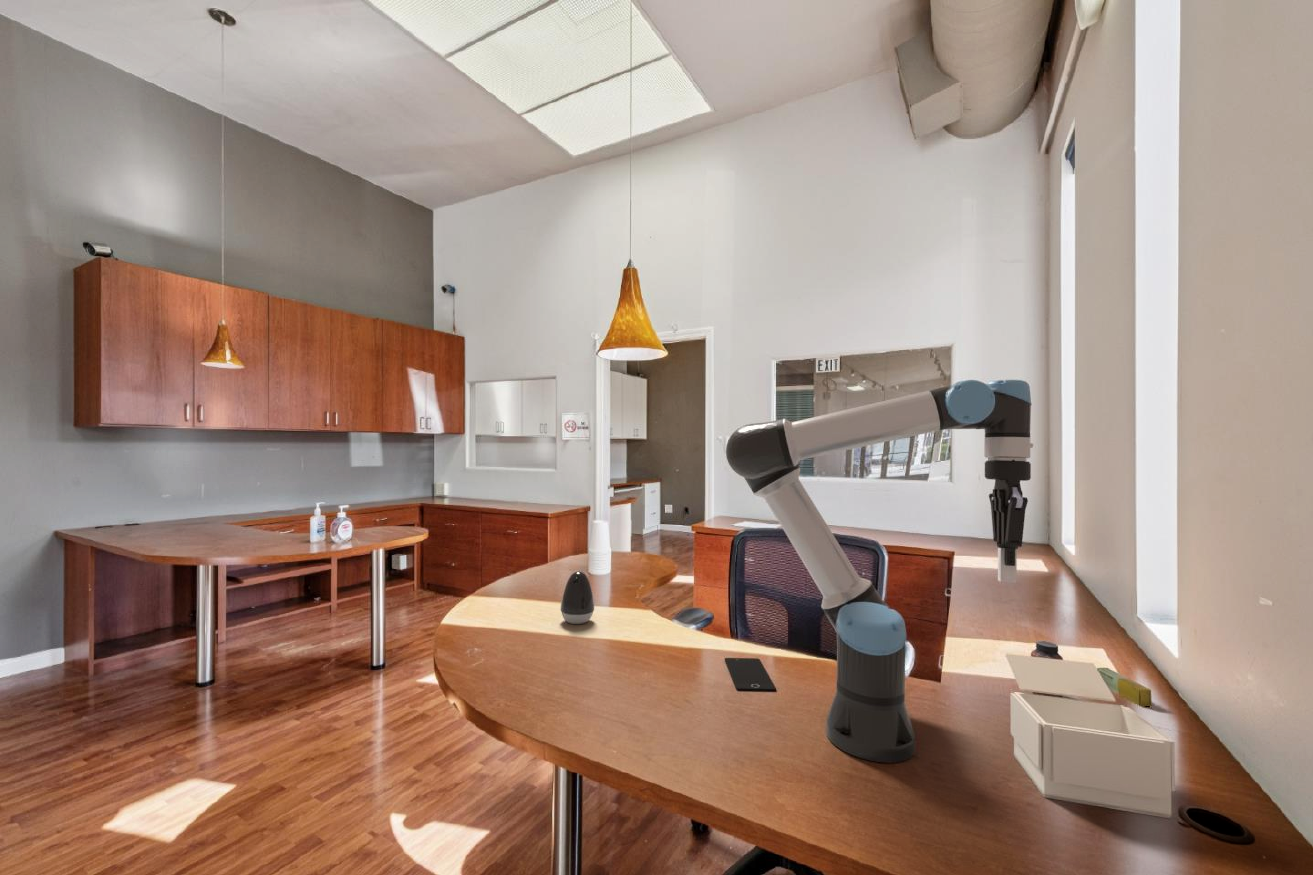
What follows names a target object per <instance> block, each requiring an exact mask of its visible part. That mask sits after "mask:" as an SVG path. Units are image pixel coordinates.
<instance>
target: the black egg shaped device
mask: <svg viewBox="0 0 1313 875" xmlns="http://www.w3.org/2000/svg"><path fill="white" fill-rule="evenodd" d="M560 612H561V616H562V618H563V619H564V621H565V622H567V623H569V624H571V625H582V624H583V625H584V624H585V623H587V622H588V621H590V619H591V618H592V617H593V614H594V612H595V600H594V594H593V590H592V585H591V582H590V579H589V578H588V576H587V574H586V573H585V572H583V571H579V570H577V571H575V572H573V573H572V574H570V576H569V578H568V580H567V582H566V584H565V587H564V590H563V594H562V597H561V603H560Z"/></svg>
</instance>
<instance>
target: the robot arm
mask: <svg viewBox="0 0 1313 875" xmlns="http://www.w3.org/2000/svg"><path fill="white" fill-rule="evenodd" d="M1030 387H1031V386H1030V384H1029V383H1028V382H1027V381H1026V380H1022V379H1000V380H992V381H988V382H986V383H984V382H982V381H980V380H976V379H968V380H967V379H966V380H960V381H958V382H955V383H954V384H952V385H948V386H944V387H939V388H935V389H931V390H926V391H921V392H917V393H913V394H909V395H903V396H900V397H895V398H892V399H891V398H890V399H887V400H883V401H879V402H874V403H871V404H865V405H861V406H856V407H851V408H848V409H843V410H839V411H835V412H830V413H826V414H821V415H817V416H814V417H810V418H809V417H808V418H805V419H804V418H803V419H800V420H795V421H790V420H788V419H786V418H781V419H777V420H771V421H767V422H757V423H750V424H748V423H747V424H745V425H742V426H740V427H739V428H737V429H736V430H735V431H733V432H732V434H731V435H730V436H729V439H728V440H727V443H726V448H725V454H726V456H725V457H726V461H727V463H728V465H729V466H730V468H731V469H732V470H733V471H734V472H735V474H737V475H739V476H740V477H742V478H744V480H745V482H746V483H747V485H748V487H749V488H750V489H751V491H752V493H753V495H754V496H756V497H761V498H762V499H764V500H765V501H766V503H767V505H768V507H769V508H770V509H771V512H772V513H773V516H775V518H776V519H777V521H778V522H777V523H779V524H780V526H781V528H782V530H783V532H784V533H785V535H786V536H787V538H788V540H789V542H790V543H791V546H792V547H793V548H794V549H795V551H796V553H797V555H798V556H799V558H800V560H801V562H802V563H803V565H804V567H805V568H806V570H807V572H808V573H809V575H810V576H811V578H812V580H813V581H814V583H815V585H816V587H817V589H818V590H819V591H820V594H821V595H822V600H821V605H820V607H821V609H822V610H823V612H824V614H825V616H826V617H827V619H828V620H829V623H830V624H831V625H832V627H833V629H834V630H835V633H836V690H835V694H834V697H833V699H832V702H831V704H830V708H829V711H828V714H827V716H826V720H825V726H826V727H825V734H826V737H827V739H828V740H829V741H830V742H831V743H832V744H833V745H834V746H835V747H836V748H838V749H840V750H841V751H843V752H845V753H846V754H849V755H851V756H854V757H856V758H860V759H862V760H867V761H871V762H877V763H887V764H888V763H890V764H891V763H900V762H901V763H902V762H905V761H908V760H910V759H911V758H912V757H914V755H915V754H916V734H915V732H914V728H913V724H912V722H911V719H910V716H909V713H908V709H907V707H906V700H905V698H906V695H905V694H906V643H907V642H906V641H907V638H908V636H907V630H906V622H905V620H904V618H903V616H902V615H901V614H900V613H899V612H898V611H897V610H896V609H893V608H890V606H889V605H888V604H887V603H885V601H884V600H883V598H882V597H881V595H880V594H879V592H878V590H877V589H876V588H875V586H874V584H873V583H872V581H871V580H869V579H867V578H864V577H861V576H859V575H858V574H859V573H858V572H857V571H856V569H855V568H854V566H853V565H852V563H851V561H850V560H849V558H848V556H847V554H846V553H845V552H844V550H843V548H842V547H841V545H840V544H839V541H838V540H837V539H836V537H835V535H834V534H833V532H832V530H831V528H829V526H828V524H827V523H826V521H825V519H824V518H823V516H822V515H821V513H820V510H818V508H817V507H816V505H815V503H814V501H813V499H812V498H811V497H810V495H809V494H808V492H807V490H806V489H805V487H804V486H803V483H802V482H801V480H800V478H799V477H800V474H801V473H800V472H801V468H800V465H799V462H800V461H801V460H806V459H811V458H816V457H820V456H824V455H829V454H830V455H831V454H835V453H839V452H843V451H849V450H853V449H858V448H863V447H867V446H872V445H876V444H881V443H882V444H883V443H885V442H886V443H887V442H891V441H896V440H900V439H905V438H909V437H913V436H918V435H924V434H928V433H933V432H934V433H935V432H937V431H944V430H984V440H983V441H984V452H983V454H984V455H983V456H984V458H985V459H987V460H985V462H984V478H985V479H987V480H995V481H994V487H993V489H992V493H989V494H988V498H989V503H990V511H991V512H990V513H991V523H992V524H991V525H992V526H991V527H992V535H993V536H992V537H993V538H992V539H993V542H996V546H997V581H998V582H1000V583H1013V584H1017V580H1018V579H1017V578H1018V577H1017V574H1018V573H1017V570H1018V569H1017V565H1018V564H1017V557H1018V556H1017V554H1018V553H1017V552H1018V549H1019V548H1021V547H1023V538H1024V529H1025V528H1024V526H1025V519H1026V518H1025V516H1026V508H1027V506H1028V501H1029V500H1028V498H1027V497H1024V496H1023V491H1022V488H1021V481H1030V480H1031V477H1032V476H1031V474H1032V472H1031V469H1032V464H1031V463H1030V461H1027V459H1030V458H1031V449H1033V446H1034V444H1033V443H1032V442H1031V418H1032V417H1031V413H1032V412H1031V411H1032V401H1031V400H1032V399H1031V388H1030Z"/></svg>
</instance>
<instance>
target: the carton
mask: <svg viewBox="0 0 1313 875" xmlns="http://www.w3.org/2000/svg"><path fill="white" fill-rule="evenodd" d="M1010 735H1011V736H1012V737H1013V757H1014V758H1015V759H1016V760H1017V762H1018V764H1020V766H1021V768H1022V769H1023V770H1024V771H1025V773H1026V774H1027V775H1028V777H1029V779H1030V780H1031V779H1032V780H1031V781H1032V783H1034V786H1035V787H1036V786H1037V787H1036V788H1037V789H1038V791H1039V792H1040V794H1041V795H1042V797H1044V798H1047V799H1054V800H1060V801H1065V802H1070V803H1076V804H1083V805H1088V806H1095V807H1101V808H1105V809H1111V810H1112V809H1114V810H1118V811H1124V812H1130V813H1136V814H1143V815H1148V816H1154V817H1159V818H1165V819H1172V791H1176V769H1175V768H1176V766H1175V765H1176V761H1175V759H1176V758H1175V757H1176V754H1175V740H1173V739H1171V738H1170V737H1169V736H1168V735H1166V734H1165V733H1164V732H1162V731H1161V730H1160V729H1158V728H1157V727H1155V726H1154V725H1153V724H1152V723H1150V722H1149V721H1148V720H1146V719H1145V718H1143V717H1142V716H1141V715H1140V714H1138V713H1137V712H1135V711H1134V710H1132V709H1131V708H1130V707H1128V706H1126V707H1125V705H1121V704H1116V703H1115V704H1114V703H1105V702H1100V701H1099V702H1098V701H1090V700H1082V699H1075V698H1066V697H1062V698H1059V697H1051V696H1043V695H1036V694H1035V693H1033V694H1032V693H1027V692H1026V693H1025V692H1017V691H1014V692H1010Z"/></svg>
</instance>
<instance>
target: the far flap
mask: <svg viewBox="0 0 1313 875" xmlns="http://www.w3.org/2000/svg"><path fill="white" fill-rule="evenodd" d="M1005 657H1006V661H1007V662H1008V665H1009V667H1010V669H1011V671H1012V673H1013V676H1014V679H1015V681H1016V684H1017V686H1018V689H1019V690H1020V691H1024V692H1031V693H1033V692H1037V693H1046V694H1054V695H1062V696H1063V697H1070V698H1071V697H1072V698H1079V699H1087V700H1093V701H1095V700H1097V701H1104V702H1112V703H1116V701H1117V700H1116V698H1115V697H1114V695H1113V693H1112V691H1110V690H1109V688H1108V687H1107V685H1106V683H1105V682H1104V680H1103V678H1102V677H1101V675H1100V673H1099V672H1098V670H1097V668H1098V667H1096V664H1094V663H1092V662H1084V661H1076V660H1066V659H1063V660H1058V659H1049V658H1040V657H1031V655H1029V656H1028V655H1019V654H1011V653H1005Z"/></svg>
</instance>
